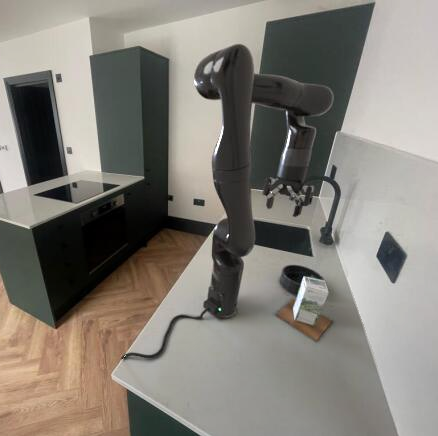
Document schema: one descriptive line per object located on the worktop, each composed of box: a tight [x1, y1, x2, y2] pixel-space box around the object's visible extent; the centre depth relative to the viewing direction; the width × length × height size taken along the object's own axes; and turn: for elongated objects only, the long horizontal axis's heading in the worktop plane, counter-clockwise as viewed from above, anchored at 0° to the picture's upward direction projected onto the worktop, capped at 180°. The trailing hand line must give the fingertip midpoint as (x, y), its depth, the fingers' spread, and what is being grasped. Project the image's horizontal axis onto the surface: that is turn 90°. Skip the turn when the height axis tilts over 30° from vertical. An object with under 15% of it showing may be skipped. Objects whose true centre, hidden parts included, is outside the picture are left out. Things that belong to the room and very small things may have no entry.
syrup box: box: [293, 276, 330, 326], centre depth 73 cm, size 6×6×14 cm
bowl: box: [278, 264, 325, 297], centre depth 89 cm, size 14×14×6 cm
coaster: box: [275, 299, 333, 342], centre depth 76 cm, size 12×12×1 cm
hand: (281, 212), depth 76 cm, fingers open, 8 cm apart
